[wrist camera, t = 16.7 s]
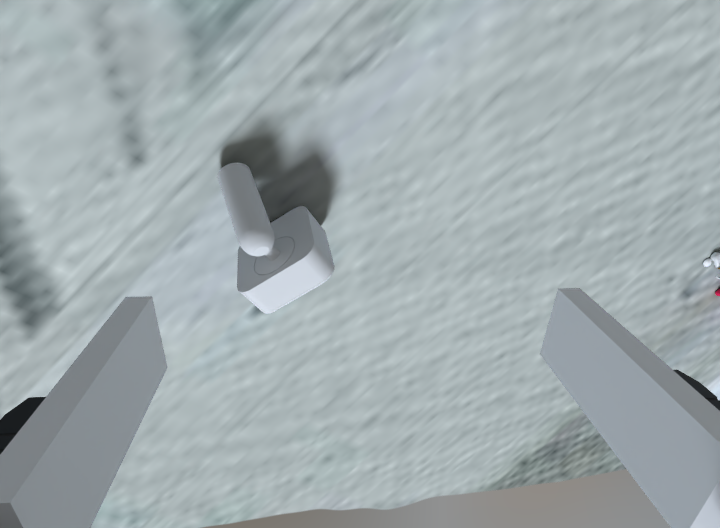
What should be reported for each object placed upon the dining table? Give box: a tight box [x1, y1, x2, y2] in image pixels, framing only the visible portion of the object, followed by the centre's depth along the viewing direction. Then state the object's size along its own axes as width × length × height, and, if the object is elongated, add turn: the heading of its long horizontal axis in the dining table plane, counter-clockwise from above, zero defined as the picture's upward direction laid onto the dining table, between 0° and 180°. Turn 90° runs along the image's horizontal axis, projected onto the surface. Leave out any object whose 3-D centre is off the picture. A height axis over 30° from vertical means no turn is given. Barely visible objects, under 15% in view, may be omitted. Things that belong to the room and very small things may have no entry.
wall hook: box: [218, 163, 334, 313], centre depth 38 cm, size 8×10×10 cm
